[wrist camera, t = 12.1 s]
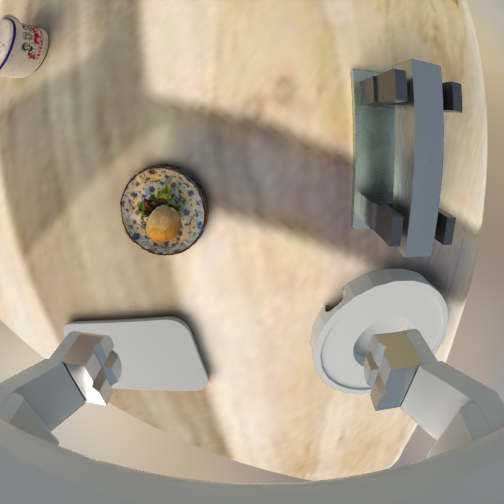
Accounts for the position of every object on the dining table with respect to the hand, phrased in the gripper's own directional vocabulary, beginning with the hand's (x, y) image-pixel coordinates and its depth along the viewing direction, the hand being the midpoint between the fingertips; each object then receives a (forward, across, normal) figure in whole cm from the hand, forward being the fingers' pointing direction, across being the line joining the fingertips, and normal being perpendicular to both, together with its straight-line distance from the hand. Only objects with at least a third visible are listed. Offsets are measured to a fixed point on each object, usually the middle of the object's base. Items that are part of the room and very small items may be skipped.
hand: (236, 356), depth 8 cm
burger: (+30, +12, +3) cm, 32 cm away
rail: (+24, -17, -4) cm, 29 cm away
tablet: (+30, +23, +28) cm, 47 cm away
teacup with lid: (+29, +34, -27) cm, 52 cm away
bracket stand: (+29, -17, -4) cm, 34 cm away
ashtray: (+30, -19, +24) cm, 43 cm away
